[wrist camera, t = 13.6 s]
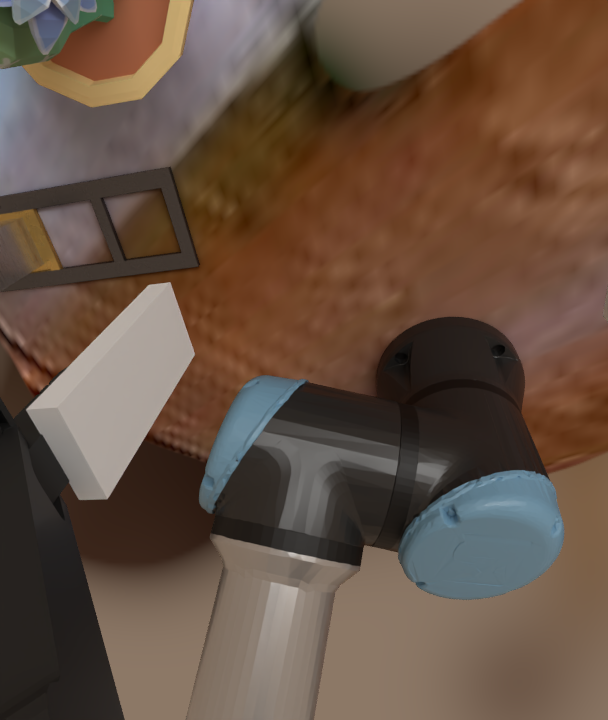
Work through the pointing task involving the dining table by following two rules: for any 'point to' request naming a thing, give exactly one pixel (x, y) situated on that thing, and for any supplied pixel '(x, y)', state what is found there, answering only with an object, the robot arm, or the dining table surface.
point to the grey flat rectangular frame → (95, 192)
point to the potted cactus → (94, 44)
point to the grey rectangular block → (16, 252)
